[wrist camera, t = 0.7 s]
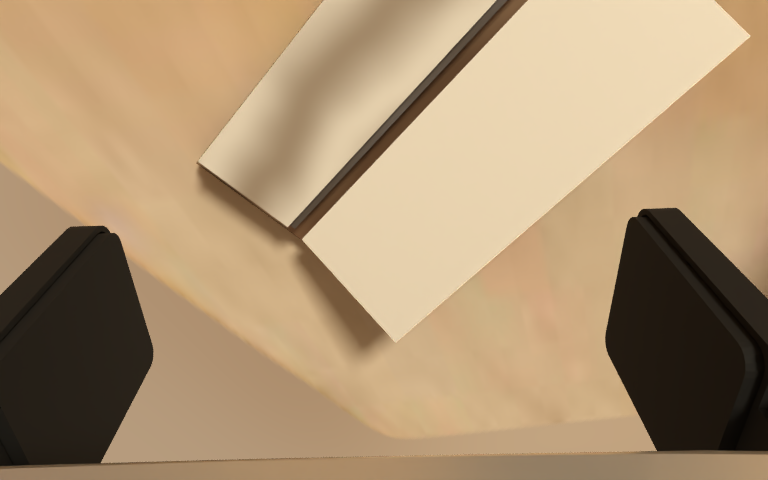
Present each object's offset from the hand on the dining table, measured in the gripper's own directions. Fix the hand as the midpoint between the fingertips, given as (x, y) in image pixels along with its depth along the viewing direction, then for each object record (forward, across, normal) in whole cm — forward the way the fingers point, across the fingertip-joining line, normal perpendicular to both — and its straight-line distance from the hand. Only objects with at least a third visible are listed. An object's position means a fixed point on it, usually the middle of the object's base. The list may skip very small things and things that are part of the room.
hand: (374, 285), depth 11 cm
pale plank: (+22, -6, +6) cm, 23 cm away
